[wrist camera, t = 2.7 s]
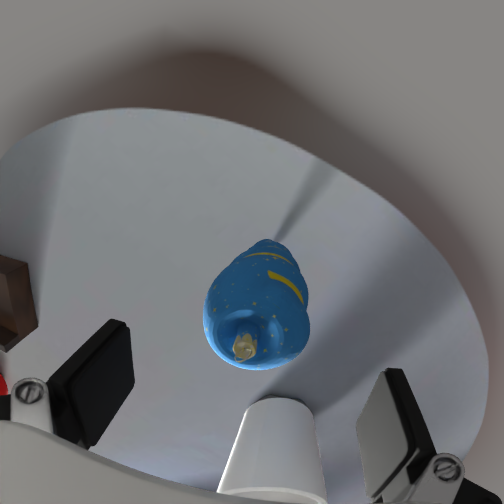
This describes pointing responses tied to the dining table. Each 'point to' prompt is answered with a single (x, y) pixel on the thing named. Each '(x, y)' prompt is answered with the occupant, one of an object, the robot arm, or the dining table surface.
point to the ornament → (258, 309)
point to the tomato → (3, 386)
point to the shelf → (15, 303)
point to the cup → (276, 455)
